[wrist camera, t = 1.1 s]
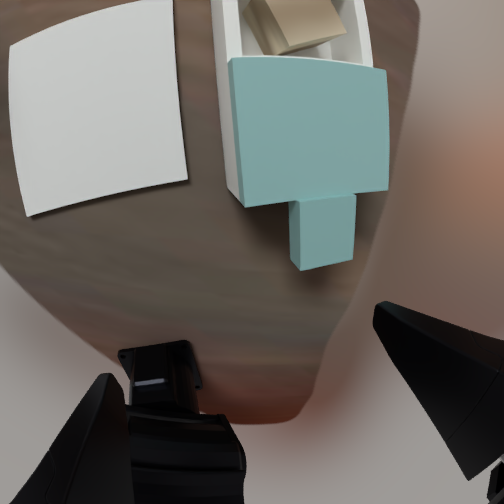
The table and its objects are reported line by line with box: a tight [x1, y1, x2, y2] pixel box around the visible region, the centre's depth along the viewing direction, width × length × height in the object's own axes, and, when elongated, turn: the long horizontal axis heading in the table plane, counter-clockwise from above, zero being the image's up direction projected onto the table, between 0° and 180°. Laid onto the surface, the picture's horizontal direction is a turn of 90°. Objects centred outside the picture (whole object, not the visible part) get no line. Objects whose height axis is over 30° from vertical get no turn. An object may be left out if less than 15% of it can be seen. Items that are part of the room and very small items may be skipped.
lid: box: [227, 57, 389, 271], centre depth 15 cm, size 12×9×2 cm
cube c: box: [242, 0, 347, 56], centre depth 13 cm, size 4×4×4 cm
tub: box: [211, 0, 373, 201], centre depth 15 cm, size 15×9×4 cm, turn 5°
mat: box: [9, 0, 188, 217], centre depth 14 cm, size 13×12×1 cm
